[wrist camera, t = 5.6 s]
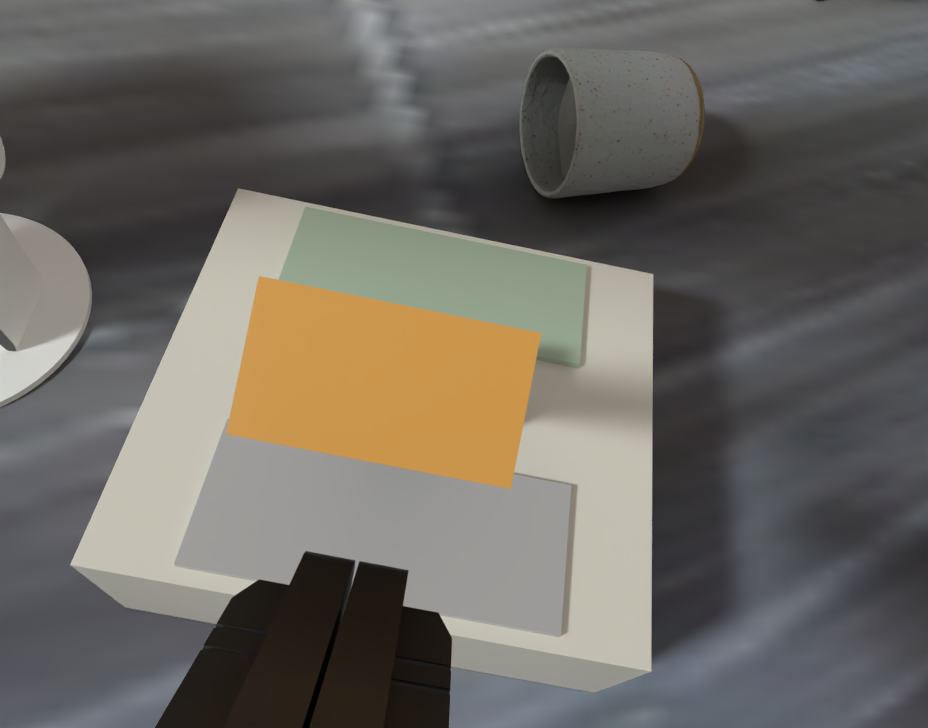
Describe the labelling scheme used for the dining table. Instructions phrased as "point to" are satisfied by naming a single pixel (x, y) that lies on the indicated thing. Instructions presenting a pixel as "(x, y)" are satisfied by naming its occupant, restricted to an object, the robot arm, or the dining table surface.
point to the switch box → (397, 489)
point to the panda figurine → (37, 302)
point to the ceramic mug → (608, 120)
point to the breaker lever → (383, 383)
